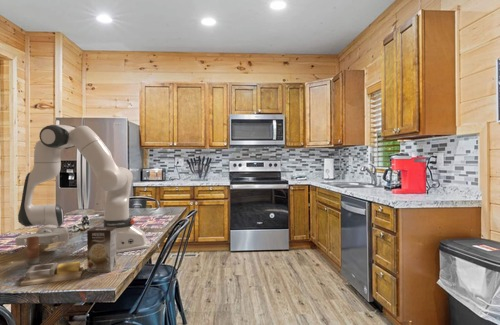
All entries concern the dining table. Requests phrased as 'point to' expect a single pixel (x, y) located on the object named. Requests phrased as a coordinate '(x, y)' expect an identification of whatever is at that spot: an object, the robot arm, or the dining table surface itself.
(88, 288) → the dining table surface
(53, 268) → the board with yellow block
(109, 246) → the coffee box
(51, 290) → the dining table surface
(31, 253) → the terracotta peg
